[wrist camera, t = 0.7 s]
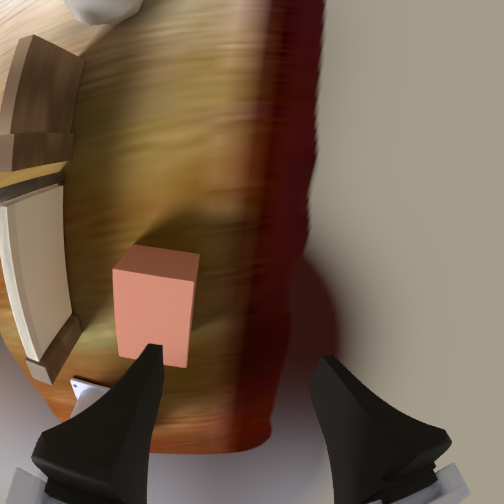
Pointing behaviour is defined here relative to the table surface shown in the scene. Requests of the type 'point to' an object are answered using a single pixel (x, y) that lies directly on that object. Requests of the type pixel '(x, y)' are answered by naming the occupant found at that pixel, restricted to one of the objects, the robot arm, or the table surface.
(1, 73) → the table surface
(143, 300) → the block
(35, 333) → the door
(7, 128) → the frame
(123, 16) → the salt shaker
